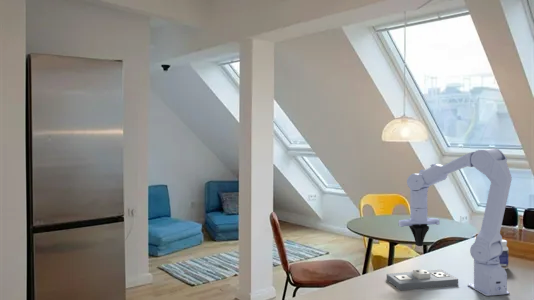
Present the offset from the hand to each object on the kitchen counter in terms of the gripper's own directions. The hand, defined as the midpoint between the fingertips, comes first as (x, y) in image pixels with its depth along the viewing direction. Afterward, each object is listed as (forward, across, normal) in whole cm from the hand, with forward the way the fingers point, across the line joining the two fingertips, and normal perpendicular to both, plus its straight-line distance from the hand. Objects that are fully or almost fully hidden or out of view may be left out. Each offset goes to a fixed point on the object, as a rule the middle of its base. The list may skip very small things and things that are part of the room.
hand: (419, 245), depth 157 cm
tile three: (+9, -2, +10) cm, 14 cm away
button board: (+9, +4, +10) cm, 14 cm away
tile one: (+9, +11, +10) cm, 17 cm away
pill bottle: (+10, -30, +2) cm, 32 cm away
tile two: (+8, +5, +10) cm, 13 cm away
